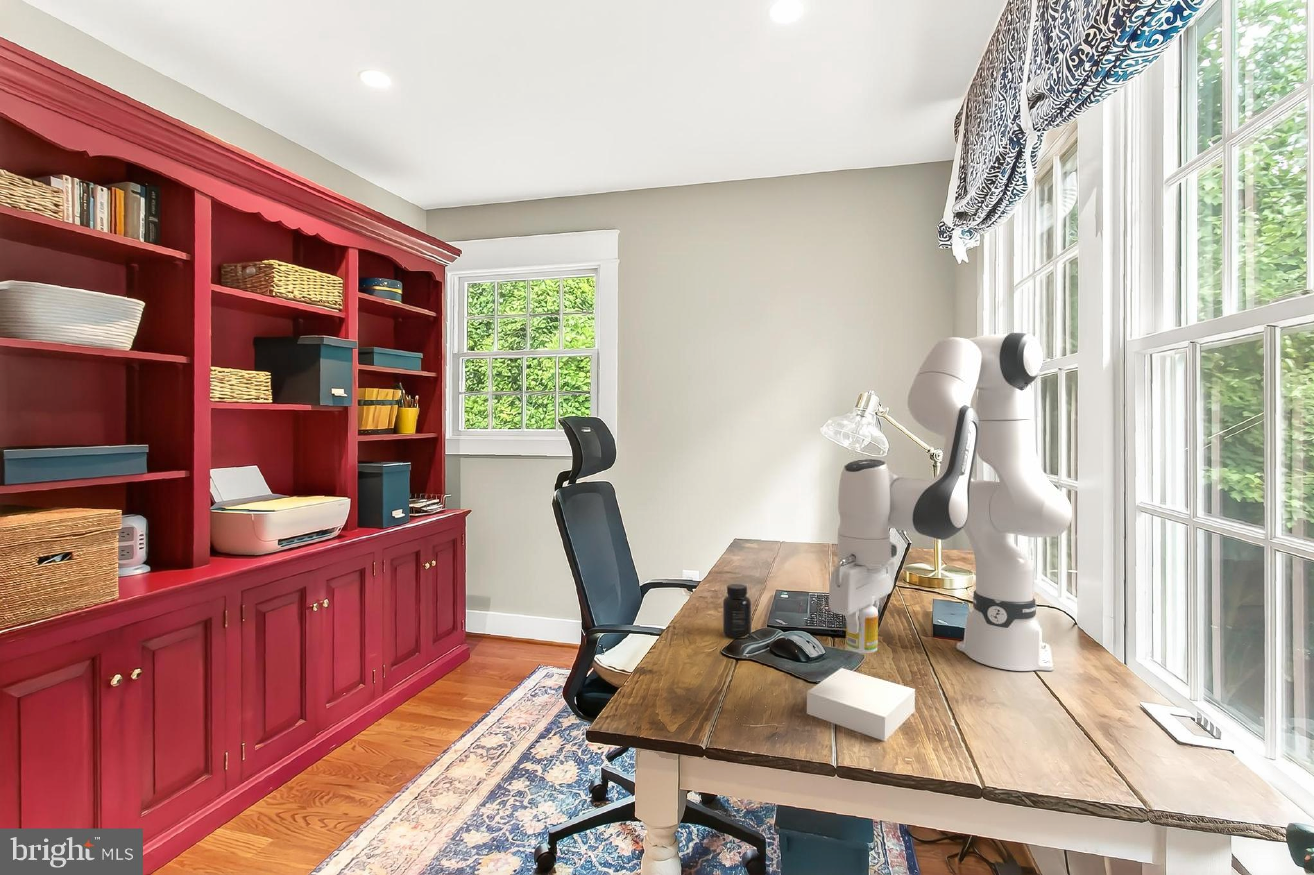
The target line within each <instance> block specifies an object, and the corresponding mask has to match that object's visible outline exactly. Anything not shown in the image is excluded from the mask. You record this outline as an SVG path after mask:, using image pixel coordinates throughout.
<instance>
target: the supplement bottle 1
mask: <svg viewBox="0 0 1314 875" xmlns="http://www.w3.org/2000/svg"><path fill="white" fill-rule="evenodd" d="M726 594H727V595H726V596H725V597H724V598H723V599H722V600H723V601H722V608H723V609H722V631H723V632H722V633H723V635H724V637H726V638H729V639H733V640H736V639H735V638H740V637H742V636H745V635H747V634H750V633H751V634H752V601H751V598H750V597H748V596H747V595H748V587H747V585H745V584H740V583H733V584H732V583H731V584H728V585H727V587H726Z"/></svg>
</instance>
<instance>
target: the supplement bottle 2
mask: <svg viewBox="0 0 1314 875" xmlns="http://www.w3.org/2000/svg"><path fill="white" fill-rule="evenodd" d="M873 604H874V596H872V597H871V601H870V604H869V605H867V606H865V607H863V608H862V609H860V610H859V615H858V621H859V622H860V623H861V627H860V628H861V631H860V632H859V633H857V634H852V633H849V632H848V630H847V625H848V622H847V620H846V619H845V646H846V648H847V649H848V650H851V651H852V652H855V653H859V654H860V653H861V654H871V653H875V652H877V651H878V644H879V643H878V639H879V637H878V634H879V611H878V610H879V609H878V610H877V609H876V608H875V607H874V606H873Z"/></svg>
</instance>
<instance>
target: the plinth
mask: <svg viewBox="0 0 1314 875" xmlns="http://www.w3.org/2000/svg"><path fill="white" fill-rule="evenodd" d="M915 703H916V689H915V688H911V687H909V686H905V685H902V684H900V683H899V684H897V683H895V682H892V681H887V680H884V679H881V678H877V677H874V676H870V675H868V674H864V673H860V672H858V671H857V672H856V671H853V670H850V669H846V668H842V667H841V668H839V669H837V671H835V672H834V673H832V674H831V675H829V676H828V677H826V678H824V679H823V680H822V681H821V682H819V683H818V684H815V686H813V687H812V688H810V689H809V690H807V691H806V714H807V715H810V716H813V717H816V718H818V719H821V720H824V721H827V722H830V723H831V724H835V725H837V726H841V727H843V728H846V729H848V730H852V731H855V732H857V733H860V734H863V735H866V736H868V737H870V738H871V737H872V738H874V739H877V740H879V741H883V742H886V741H887V740H888V739H889V738H890V737H891V736H892V735H893V733H895V732H896V731H897V729H899V727H901V725H902V724H904V723H905V722H906V720H907V719H908V718H909V717H911V716H912V714H913V713H915V711H916V710H915V709H916V708H915V706H916V705H915Z"/></svg>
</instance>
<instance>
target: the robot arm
mask: <svg viewBox="0 0 1314 875" xmlns="http://www.w3.org/2000/svg"><path fill="white" fill-rule="evenodd" d="M1043 364H1044V353H1043V348H1042V345H1041V344H1040V342H1039V340H1038V339H1037V338H1036V337H1035V336H1033V335H1032V334H1029V333H1023V332H1011V333H1007V334H1006V333H999V334H995V333H994V334H985V335H984V334H983V335H978V336H976V337H971V338H970V337H969V338H963V337H957V336H951V337H946V338H943V339H942V340H939V341H938V342H937V343H936V344H935V345H934V346H933V348H931V351H930V352H929V353H928V354H927V356H926V357H925V359H924V360H923V362H922V364H921V366H920V368H919V370H918V372H917V374H915V378H914V380H913V382H912V385H911V387H910V388H909V389H910V390H909V392H908V396H907V401H906V402H907V407H908V411H909V413H910V415H911V416H912V418H913V419H914V420H915V422H916V423H918V424H919V425H920V426H921V427H923V428H925V429H926V430H927V431H929V432H931V433H934V434H935V435H937V436H938V435H939V436H940V437H943V438H945V441H944V442H945V443H944V447H943V452H942V457H941V462H940V468H939V472H938V474H937V475H936V476H934V477H932V478H930V479H920V478H918V479H917V478H909V477H903V476H899V475H898V474H895V473H894V472H892V471H891V470H889V468H888V465H887V463H886V461H884V460H880V459H873V458H870V459H869V458H868V459H867V458H866V459H857V460H853V461H850V462H848V463H847V464H845V465H844V466H843V468H842V471H841V474H840V478H839V486H838V499H837V507H838V513H839V519H840V520H839V527H838V528H837V560H838V564H837V566H835V567H834V568H833V569H832V572H831V575H830V580H829V581H830V582H829V591H828V607H829V610H830V612H831V613H834V614H839V615H842V616H844V617H845V621H846V620H847V622H848V625H847V630H848V632H849V633H852V634H857V633H859V632H860V631H861V628H860V627H861V623H860V622H859V621H858V615H859V610H860V609H862V608H863V607H865V606H867V605H869V604H870V601H871V597H872V596H874V604H873V606H874V607H875V608H876V609H877V610H879V607H880V599H882V598H884V597H886V596H887V595H889V594H892V591H893V589H894V585H895V575H896V559H895V558H896V557H898V555H899V546H898V544H896V543H894V542H892V541H891V539H890V538H891V534H890V530H889V528H890V529H895V530H898V531H899V530H900V531H905V532H910V533H915V534H920V535H922V536H926V537H930V538H932V539H937V540H940V541H942V540H948V539H949V538H951V537H954V536H955V535H956V534H958V533H959V532H960V531H962V529H963V531H964V532H965V534H966V536H967V539H968V540H969V543H970V545H971V548H972V553H973V555H974V564H975V568H974V569H975V590H974V591H973V595H972V607H973V609H972V610H971V611H969V612H968V613H966V615H965V622H964V634H963V635H964V636H963V640H962V641H960V642H957V643H956V647H955V648H956V649H957V650H958V651H960V652H963V653H965V654H966V655H967V656H968V657H969V658H971V659H972V660H973V661H976V662H977V663H980V664H983V665H985V666H989V667H992V668H996V669H1000V670H1001V669H1002V670H1009V671H1016V672H1017V671H1018V672H1029V671H1030V672H1032V671H1054V664H1053V658H1052V657H1053V656H1052V651H1051V646H1050V645H1049V644H1048V643H1045V642H1043V641H1042V634H1043V632H1042V628H1041V627H1040V623H1039V620H1038V619H1037V616H1036V615H1037V603H1036V599H1035V596H1034V595H1035V594H1034V585H1035V582H1034V578H1035V575H1034V574H1035V566H1034V564H1033V561H1032V559H1031V558H1030V557H1029V556H1028V555H1027V554H1026V553H1025V552H1023V551H1022V550H1020V548H1018V546H1017V545H1016V544H1015V541H1014V540H1013V537H1012V535H1017V536H1023V537H1028V538H1055V537H1056V538H1057V537H1060V536H1061V535H1063V533H1064V532H1066V531H1067V529H1068V528H1069V526H1070V525H1071V522H1072V520H1073V509H1072V505H1071V503H1070V501H1069V499H1068V497H1067V496H1066V495H1065V494H1064V493H1063V492H1062V491H1060V490H1059V489H1058V488H1057V487H1056V486H1054V485H1053V483H1051V481H1050V480H1049V479H1048V476H1046V474H1045V472H1044V471H1043V469H1042V467H1041V465H1040V462H1039V459H1038V456H1037V451H1036V434H1035V408H1034V401H1033V393H1032V387H1031V384H1032V383H1033V382H1035V380H1036V379H1037V377H1038V376H1039V375H1040V372H1041V371H1042V367H1043ZM976 390H977V395H976V396H977V397H976V405H975V406H976V407H975V410H974V408H972V407H971V403H972V399H973V396H974V394H975V391H976ZM976 455H977V456H978V458H979V459H980V460H981V461H982V462H984V463H986V464H987V465H988V466H990V467H991V468H992V470H993V471H994V473H995V474H996V475H997V478H998V481H992V480H984V479H983V480H982V479H977V480H972V476H973V472H974V465H975V459H976Z"/></svg>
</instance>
